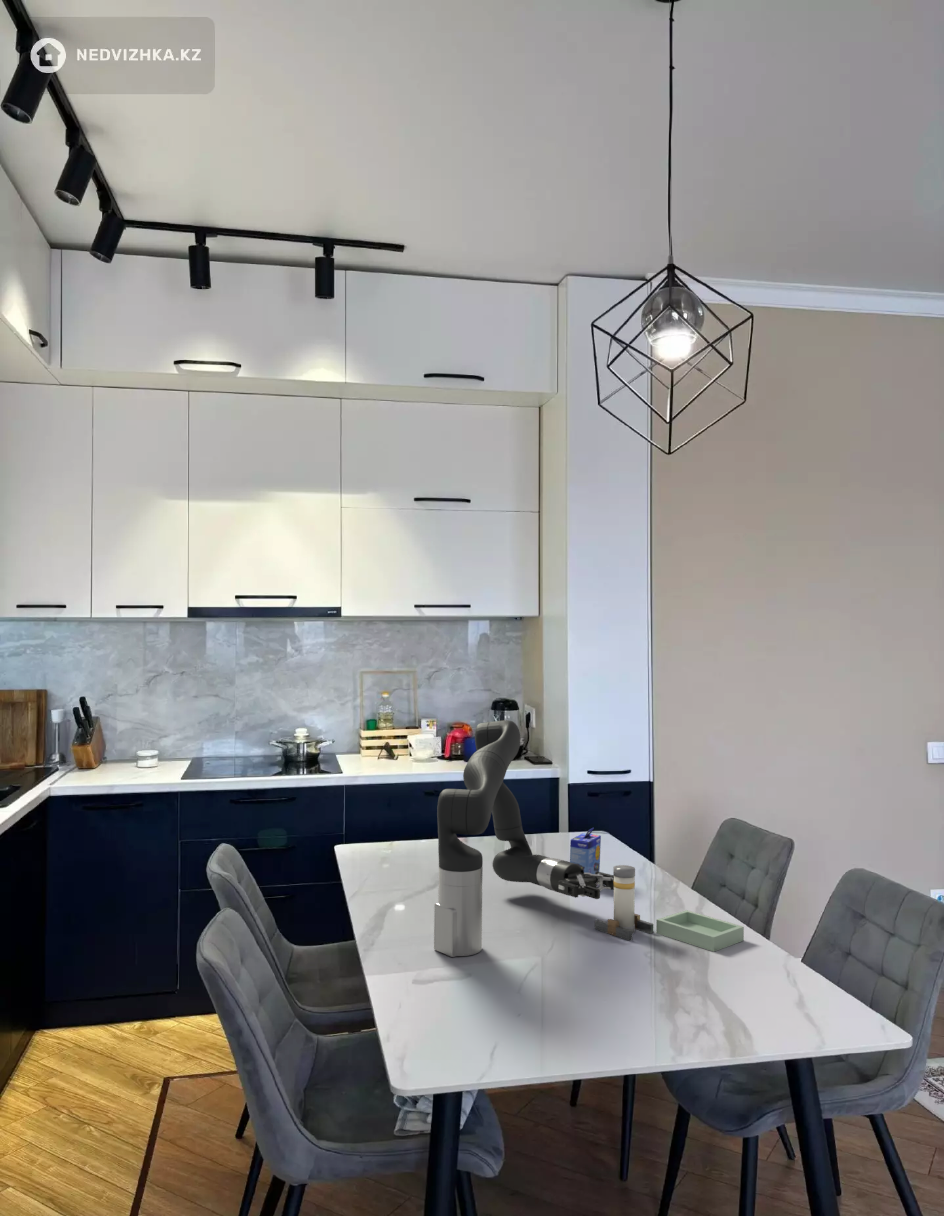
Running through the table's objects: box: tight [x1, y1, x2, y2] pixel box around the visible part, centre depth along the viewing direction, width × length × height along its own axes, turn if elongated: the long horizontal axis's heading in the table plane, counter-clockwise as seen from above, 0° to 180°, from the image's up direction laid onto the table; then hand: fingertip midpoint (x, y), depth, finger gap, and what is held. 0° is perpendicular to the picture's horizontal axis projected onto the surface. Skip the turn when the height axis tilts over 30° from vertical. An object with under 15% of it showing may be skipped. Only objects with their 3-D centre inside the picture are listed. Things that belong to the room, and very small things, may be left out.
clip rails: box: [594, 912, 654, 941], centre depth 204 cm, size 8×10×3 cm
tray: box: [655, 909, 745, 953], centre depth 200 cm, size 11×15×3 cm
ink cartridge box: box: [569, 827, 602, 874], centre depth 243 cm, size 10×6×14 cm, turn 152°
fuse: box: [612, 864, 636, 935], centre depth 204 cm, size 5×5×14 cm
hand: (611, 891), depth 207 cm, fingers open, 8 cm apart
